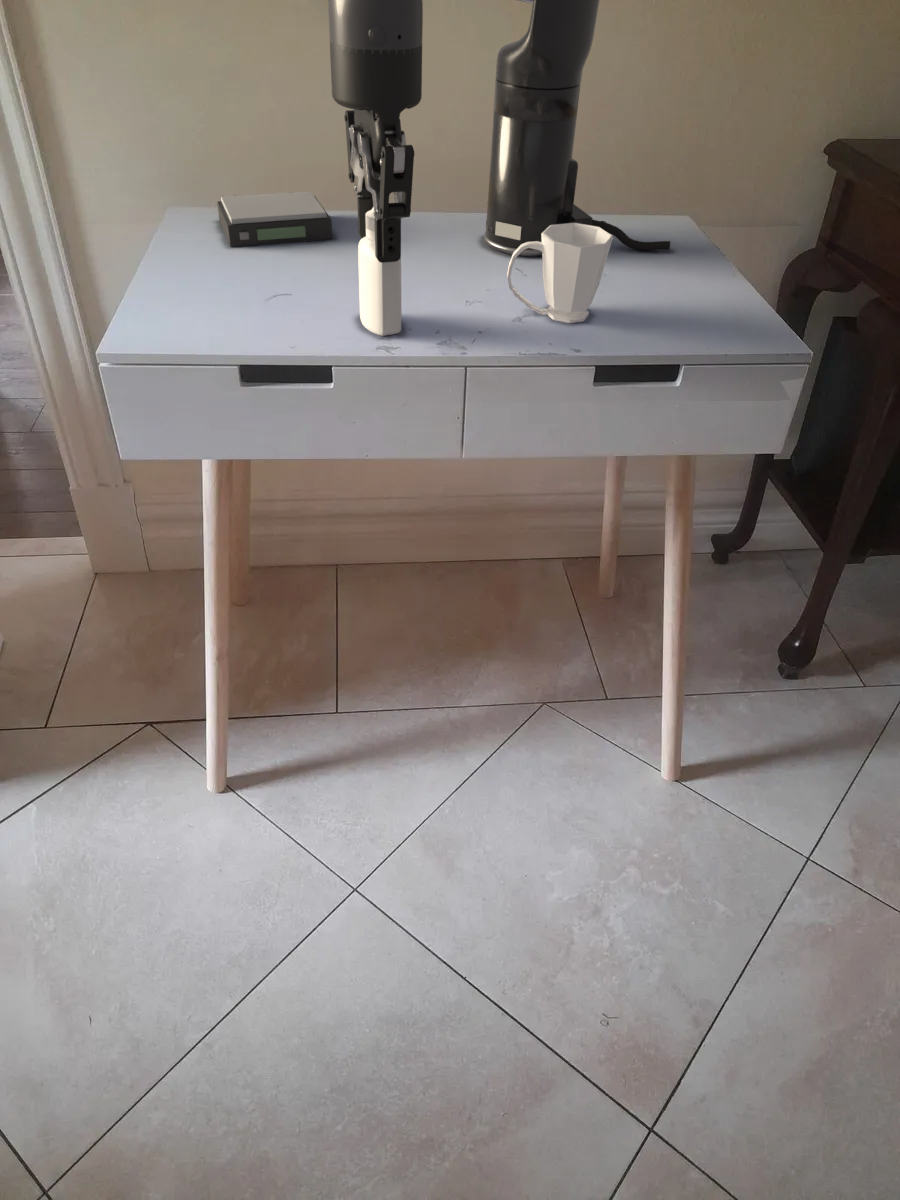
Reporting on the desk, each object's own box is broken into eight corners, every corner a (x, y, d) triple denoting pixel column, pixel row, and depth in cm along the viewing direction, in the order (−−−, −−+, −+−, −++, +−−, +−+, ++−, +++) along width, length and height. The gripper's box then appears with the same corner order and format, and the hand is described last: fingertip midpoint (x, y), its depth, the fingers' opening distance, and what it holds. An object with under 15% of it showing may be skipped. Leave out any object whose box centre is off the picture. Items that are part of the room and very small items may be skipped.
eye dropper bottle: (404, 314, 90) (405, 189, 82) (400, 338, 85) (400, 208, 78) (361, 312, 90) (357, 187, 82) (354, 336, 85) (350, 206, 78)
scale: (315, 215, 112) (314, 190, 110) (332, 240, 105) (331, 213, 103) (219, 221, 109) (216, 195, 107) (230, 247, 102) (227, 221, 100)
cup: (605, 330, 89) (618, 248, 84) (505, 326, 89) (512, 243, 83) (597, 302, 94) (608, 223, 89) (503, 298, 94) (509, 219, 89)
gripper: (448, 53, 68) (441, 273, 79) (395, 22, 78) (396, 221, 89) (352, 55, 66) (359, 281, 77) (311, 23, 76) (322, 226, 87)
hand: (379, 248), depth 83 cm, fingers closed on eye dropper bottle, 5 cm apart
